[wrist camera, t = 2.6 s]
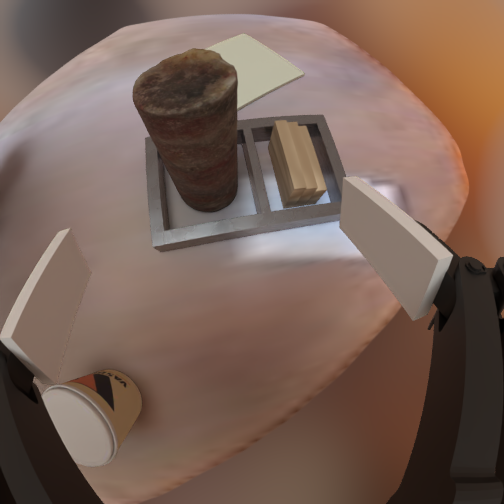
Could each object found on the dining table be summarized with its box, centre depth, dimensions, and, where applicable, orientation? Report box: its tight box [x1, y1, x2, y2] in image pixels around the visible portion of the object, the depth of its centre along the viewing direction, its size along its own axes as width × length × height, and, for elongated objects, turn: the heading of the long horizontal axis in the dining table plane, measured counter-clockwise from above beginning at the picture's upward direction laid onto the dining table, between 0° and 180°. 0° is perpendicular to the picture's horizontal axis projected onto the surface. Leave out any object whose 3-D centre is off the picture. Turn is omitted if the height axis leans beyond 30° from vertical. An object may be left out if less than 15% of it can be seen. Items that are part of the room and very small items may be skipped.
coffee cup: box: [41, 369, 142, 467], centre depth 22 cm, size 9×9×12 cm
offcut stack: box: [268, 120, 327, 209], centre depth 32 cm, size 4×9×6 cm, turn 11°
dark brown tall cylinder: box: [133, 48, 238, 212], centre depth 24 cm, size 8×7×20 cm
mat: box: [205, 33, 305, 111], centre depth 38 cm, size 16×16×1 cm
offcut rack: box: [145, 115, 346, 252], centre depth 32 cm, size 24×14×4 cm, turn 101°
